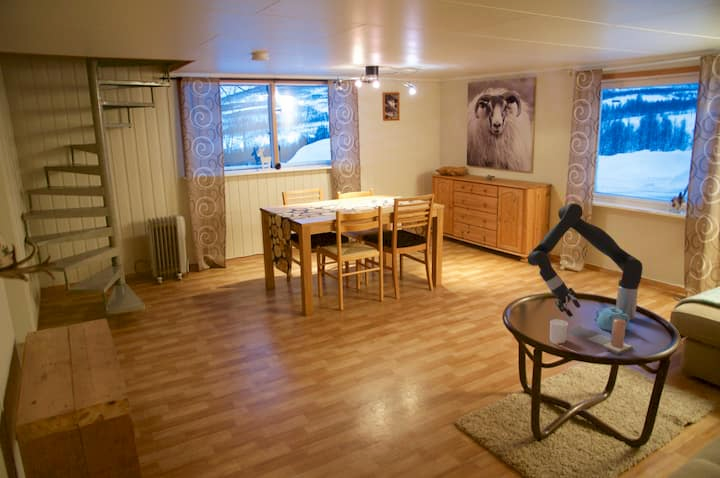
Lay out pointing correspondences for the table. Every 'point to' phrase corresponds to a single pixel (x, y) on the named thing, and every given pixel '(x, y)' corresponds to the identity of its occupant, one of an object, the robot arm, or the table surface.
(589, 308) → the table surface
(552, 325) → the white cup
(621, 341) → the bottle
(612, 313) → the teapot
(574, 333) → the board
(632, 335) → the table surface
